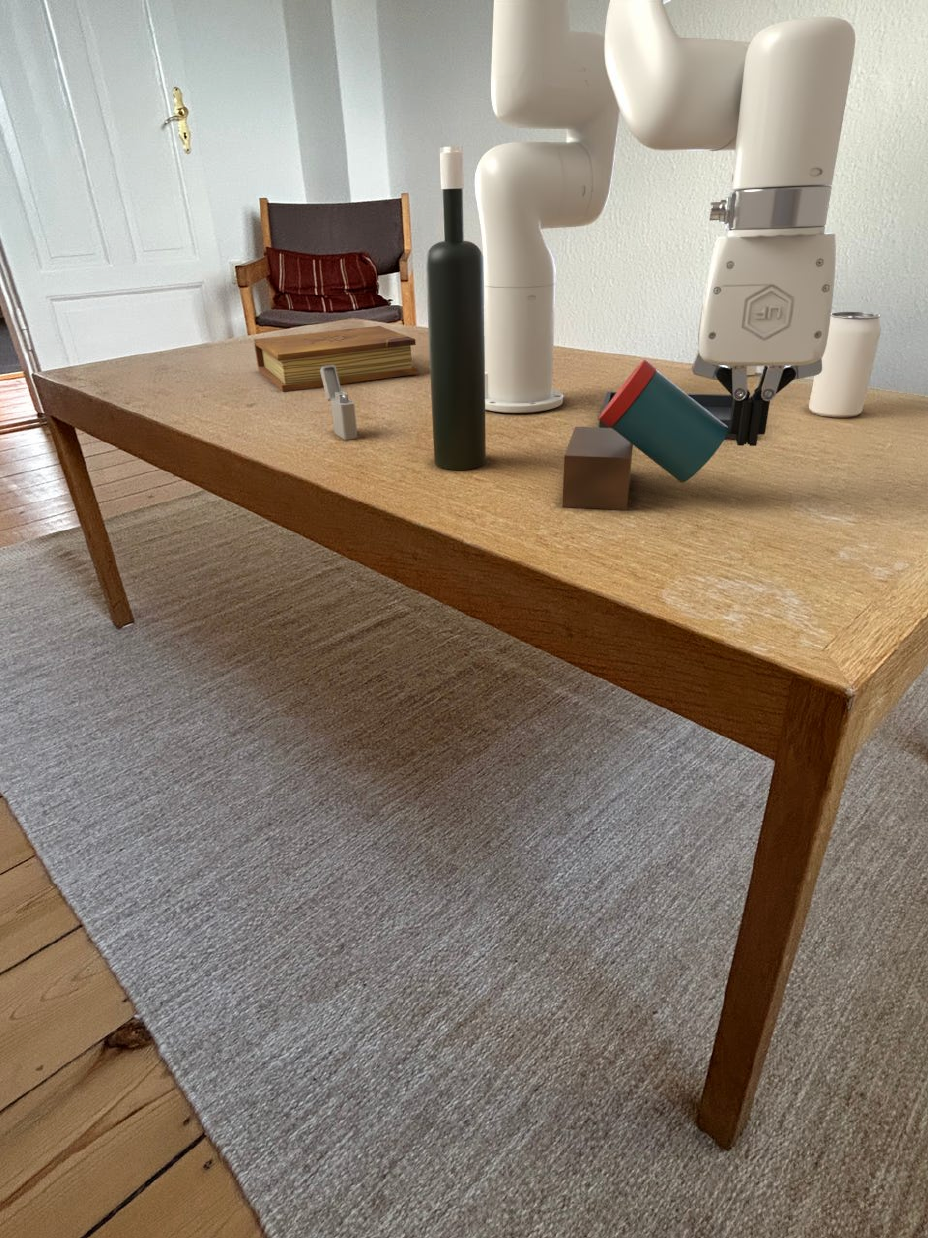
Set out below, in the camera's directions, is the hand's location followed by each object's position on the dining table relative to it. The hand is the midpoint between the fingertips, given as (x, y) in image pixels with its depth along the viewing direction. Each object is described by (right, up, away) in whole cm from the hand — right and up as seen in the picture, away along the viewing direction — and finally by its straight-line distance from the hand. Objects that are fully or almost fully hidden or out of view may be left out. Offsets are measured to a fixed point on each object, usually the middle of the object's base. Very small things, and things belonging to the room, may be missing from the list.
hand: (745, 441), depth 69 cm
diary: (-48, +26, +61) cm, 82 cm away
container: (-6, -3, +4) cm, 8 cm away
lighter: (-42, +7, +28) cm, 50 cm away
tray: (+1, +9, +27) cm, 29 cm away
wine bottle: (-26, +1, +15) cm, 30 cm away
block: (-13, -3, +6) cm, 14 cm away
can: (+23, +11, +30) cm, 39 cm away
